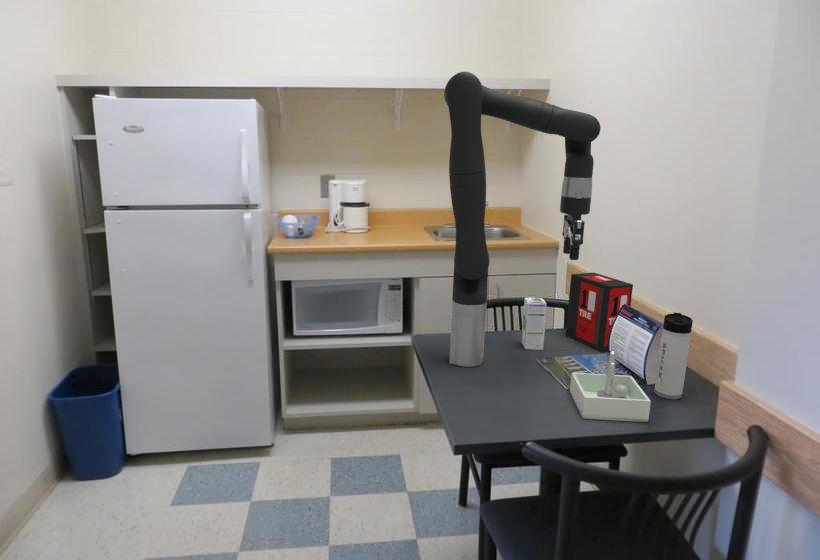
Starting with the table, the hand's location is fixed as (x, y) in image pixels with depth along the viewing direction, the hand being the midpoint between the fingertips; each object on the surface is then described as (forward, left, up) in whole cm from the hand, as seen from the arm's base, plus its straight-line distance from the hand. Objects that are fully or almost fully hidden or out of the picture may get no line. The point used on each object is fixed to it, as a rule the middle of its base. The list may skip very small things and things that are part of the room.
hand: (570, 256), depth 153 cm
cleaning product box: (+14, +20, -30) cm, 39 cm away
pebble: (+10, -22, -30) cm, 38 cm away
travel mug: (+23, -17, -30) cm, 42 cm away
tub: (+6, -26, -30) cm, 40 cm away
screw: (+6, -26, -30) cm, 40 cm away
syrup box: (-6, +13, -30) cm, 34 cm away
